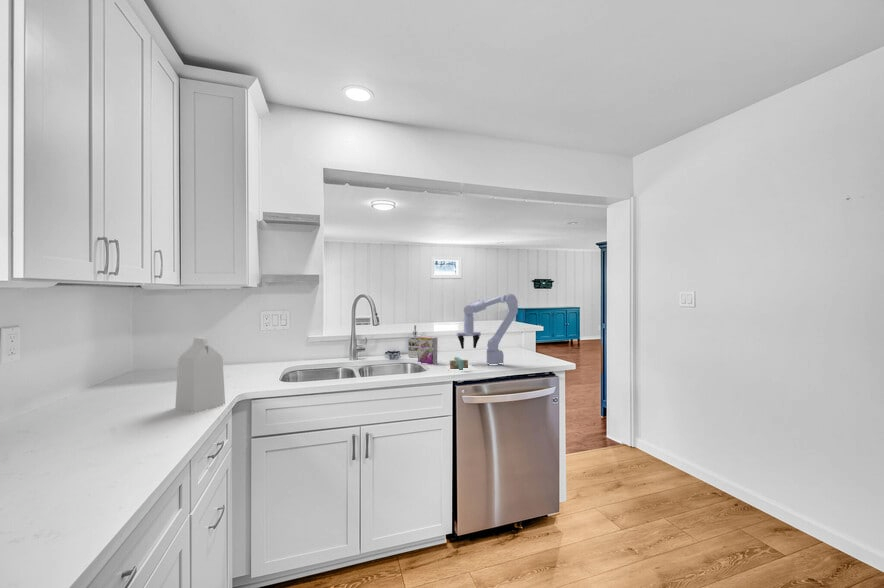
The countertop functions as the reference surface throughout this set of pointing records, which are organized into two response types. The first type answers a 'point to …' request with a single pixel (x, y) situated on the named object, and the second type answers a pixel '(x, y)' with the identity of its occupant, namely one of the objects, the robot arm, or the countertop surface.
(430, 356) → the candy bar box
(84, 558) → the countertop surface
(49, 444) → the countertop surface
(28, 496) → the countertop surface
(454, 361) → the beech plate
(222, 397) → the milk
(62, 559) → the countertop surface
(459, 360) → the light green flat block
